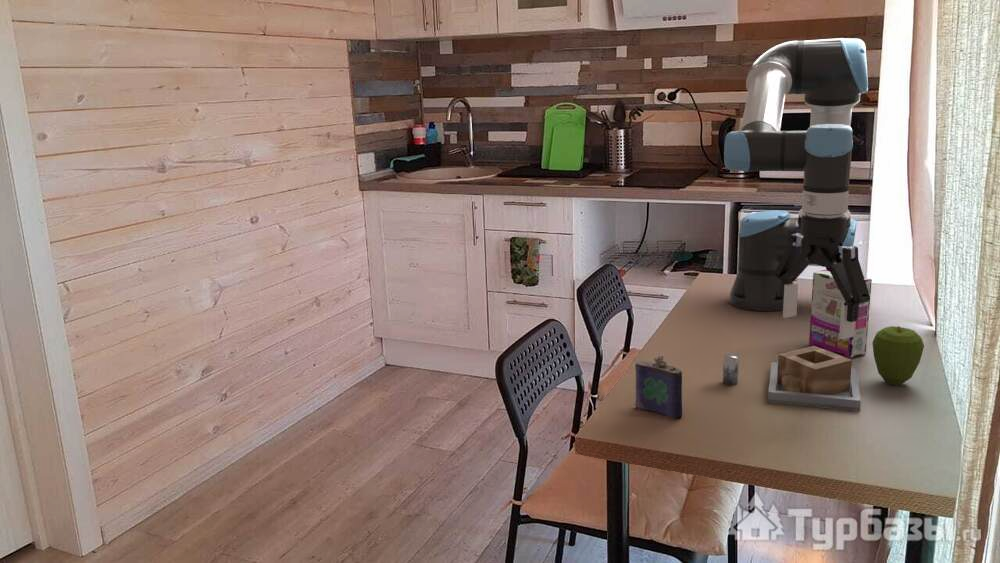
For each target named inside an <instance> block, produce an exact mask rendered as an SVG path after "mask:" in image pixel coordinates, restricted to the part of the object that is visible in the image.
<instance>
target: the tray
mask: <svg viewBox="0 0 1000 563" xmlns="http://www.w3.org/2000/svg"><path fill="white" fill-rule="evenodd" d="M777 375H778V362H774V361H773V362H771V363H770V373H769V385H768V394H767V396H768V397H767V402H768V403H772V404H782V405H784V404H785V405H793V406H801V407H811V408H812V407H814V408H822V409H823V408H824V409H833V410H842V411H843V410H844V411H855V412H861V403H862V398H861V394H860V393H861V392H860V387H859V381H858V375H857V369H856V368H851V379H850V390H849V391H846V392H842V393H838V394H835V395H822V394H811V393H801V392H790V391H782V386H781V385H779V384H777Z"/></svg>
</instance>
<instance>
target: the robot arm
mask: <svg viewBox="0 0 1000 563" xmlns="http://www.w3.org/2000/svg"><path fill="white" fill-rule="evenodd" d="M866 48H867V47H866V44H865V42H864V41H863V40H862V39H860V38H844V37H838V38H837V37H836V38H822V39H810V40H809V39H807V40H791V41H790V40H789V41H786V42H782V43H780V44H777V45H775V46H773V47H771V48H770V49H768V50H767V51H766V52H764V53H762V55H760V56H759V57H758V58H757V59H756V60H755V61H754V62H753V64H752V65H751V66H750V68H749V70H748V73H747V77H746V80H745V88H746V91H747V92H748V93H747V96H746V102H745V107H744V111H743V115H742V120H741V123H740V129H739V130H736V131H730V132H728V133H727V134H726V136H725V138H724V148H723V149H724V150H723V156H724V157H723V160H724V166H725V168H726V169H727V170H729V171H736V172H737V171H740V172H745V173H746V172H747V173H748V172H803V185H802V201H801V204H802V205H801V208H800V210H799V211H798V217H791V215H790V212H789V211H787V210H765V211H764V210H763V211H758V212H754V213H750V214H747V215H745V216H744V217H742V218H741V220H740V223H739V232H738V235H737V236H738V238H739V239H738V240H739V241H738V260H737V262H738V263H737V274H736V277H735V279H734V282H733V284H732V286H731V290H730V293H729V303H730V304H731V306H734V307H736V308H740V309H743V310H749V311H756V312H757V311H759V312H775V311H780V310H782V318H784V319H787V318H792V317H797V312H798V310H797V309H798V308H797V307H798V296H799V295H798V294H799V283H798V282H797V281H798V277H800V275H801V274H802V273H804V271H805V270H806V268H807V267H810V266H811V267H812V266H813V267H823V268H825V270H827V271H829V272H830V273H831V275H832V276H833V278H834V280H835V282H836V284H837V286H838V288H839V290H840V292H841V294H842V296H843V298H844V300H845V301H846V302H845V303H842V304H841V318H840V332H839V338H840V339H842V340H843V339H846V338H850V337H854V326H855V321H857V319H858V312H859V304H860V303H864V302H868V301H870V302H871V295H869V292H868V289H867V285H866V282H865V279H864V278H865V276H864V273H863V270H862V267H861V263H860V261H859V248H858V246H857V245H854V243H855V238H856V231H857V220H856V219H853V218H851V211H850V210H849V192H850V191H849V189H850V177H851V176H850V174H851V168H852V167H851V164H852V155H853V154H852V153H853V152H852V151H853V148H854V144H853V143H854V140H853V129H852V127H851V124H852V111H853V108H854V107H855V106H856V105H857V104H859V102H860V101H861V95H862V94H865V93H868V90H869V88H868V87H869V82H868V80H869V79H868V65H867V64H868V62H867V52H866V51H867V49H866ZM787 95H804V101H803V102H804V103H805V105H807V106H808V107H809V109H810V118H809V119H810V120H809V122H810V123H809V127H808V128H807V130H781V128H782V118H783V112H784V106H785V99H786V96H787ZM851 295H852V297H851ZM861 295H862V296H861Z"/></svg>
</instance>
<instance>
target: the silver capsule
mask: <svg viewBox="0 0 1000 563" xmlns="http://www.w3.org/2000/svg"><path fill="white" fill-rule="evenodd" d="M739 359H740V358H739V355H738V354H736V353H724V354H723V363H722V364H723V365H722V366H723V367H722V383H723V385H727V386H736V385H737V383H739V381H738V380H739V378H738V377H739Z"/></svg>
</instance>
